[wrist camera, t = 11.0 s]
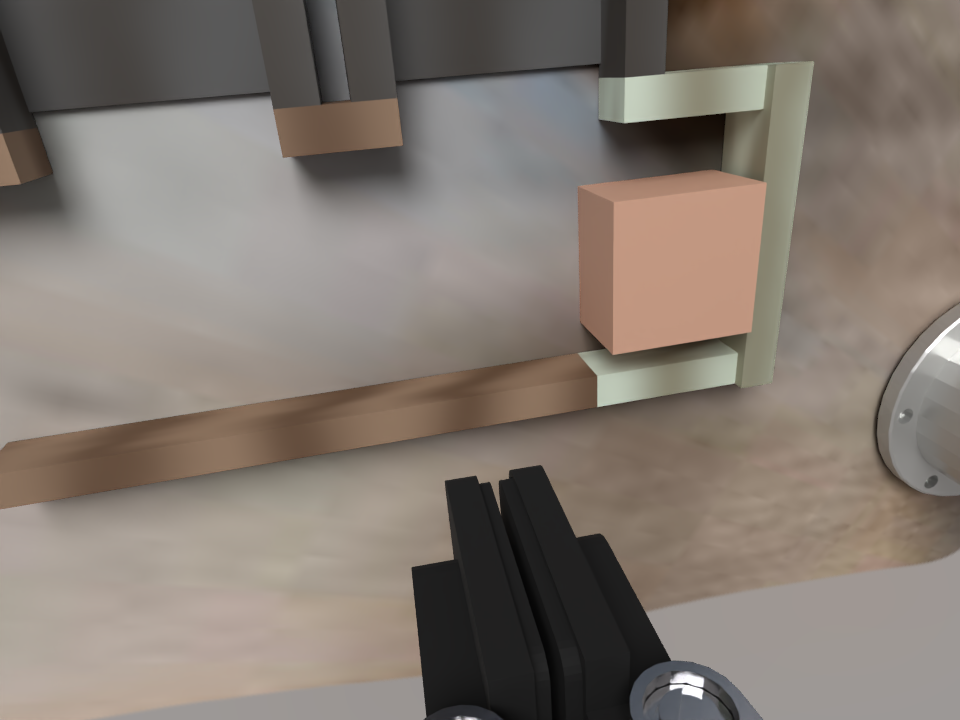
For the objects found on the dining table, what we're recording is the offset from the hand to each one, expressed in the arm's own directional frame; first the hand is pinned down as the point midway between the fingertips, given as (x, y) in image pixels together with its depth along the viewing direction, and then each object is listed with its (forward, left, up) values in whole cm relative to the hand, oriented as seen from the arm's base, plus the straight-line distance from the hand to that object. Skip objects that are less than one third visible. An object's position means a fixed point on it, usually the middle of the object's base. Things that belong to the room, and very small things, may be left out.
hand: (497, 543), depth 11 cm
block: (-11, 0, -17) cm, 20 cm away
